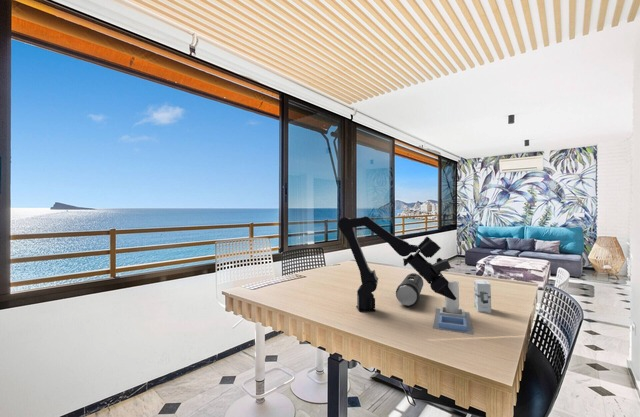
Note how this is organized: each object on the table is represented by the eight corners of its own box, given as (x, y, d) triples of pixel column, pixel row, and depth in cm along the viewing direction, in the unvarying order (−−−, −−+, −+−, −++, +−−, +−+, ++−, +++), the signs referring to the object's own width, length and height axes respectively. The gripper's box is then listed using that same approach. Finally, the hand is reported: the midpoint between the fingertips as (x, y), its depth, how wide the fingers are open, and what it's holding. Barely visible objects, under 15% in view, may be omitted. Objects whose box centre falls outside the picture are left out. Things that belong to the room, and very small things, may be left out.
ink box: (474, 306, 121) (473, 278, 121) (487, 308, 119) (486, 279, 119) (477, 313, 113) (476, 283, 113) (491, 314, 111) (491, 284, 111)
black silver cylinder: (424, 294, 141) (423, 273, 142) (418, 310, 116) (418, 285, 116) (404, 292, 145) (404, 271, 146) (395, 307, 120) (394, 283, 120)
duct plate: (473, 336, 90) (473, 329, 91) (432, 329, 95) (432, 323, 96) (469, 313, 112) (469, 308, 112) (436, 309, 117) (436, 304, 117)
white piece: (449, 317, 106) (449, 283, 107) (443, 313, 111) (442, 280, 112) (462, 316, 107) (461, 283, 107) (454, 312, 112) (454, 280, 112)
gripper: (440, 254, 102) (475, 287, 99) (433, 249, 120) (463, 277, 117) (418, 276, 104) (451, 308, 101) (414, 267, 122) (443, 295, 119)
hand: (453, 296), depth 109 cm, fingers open, 9 cm apart
